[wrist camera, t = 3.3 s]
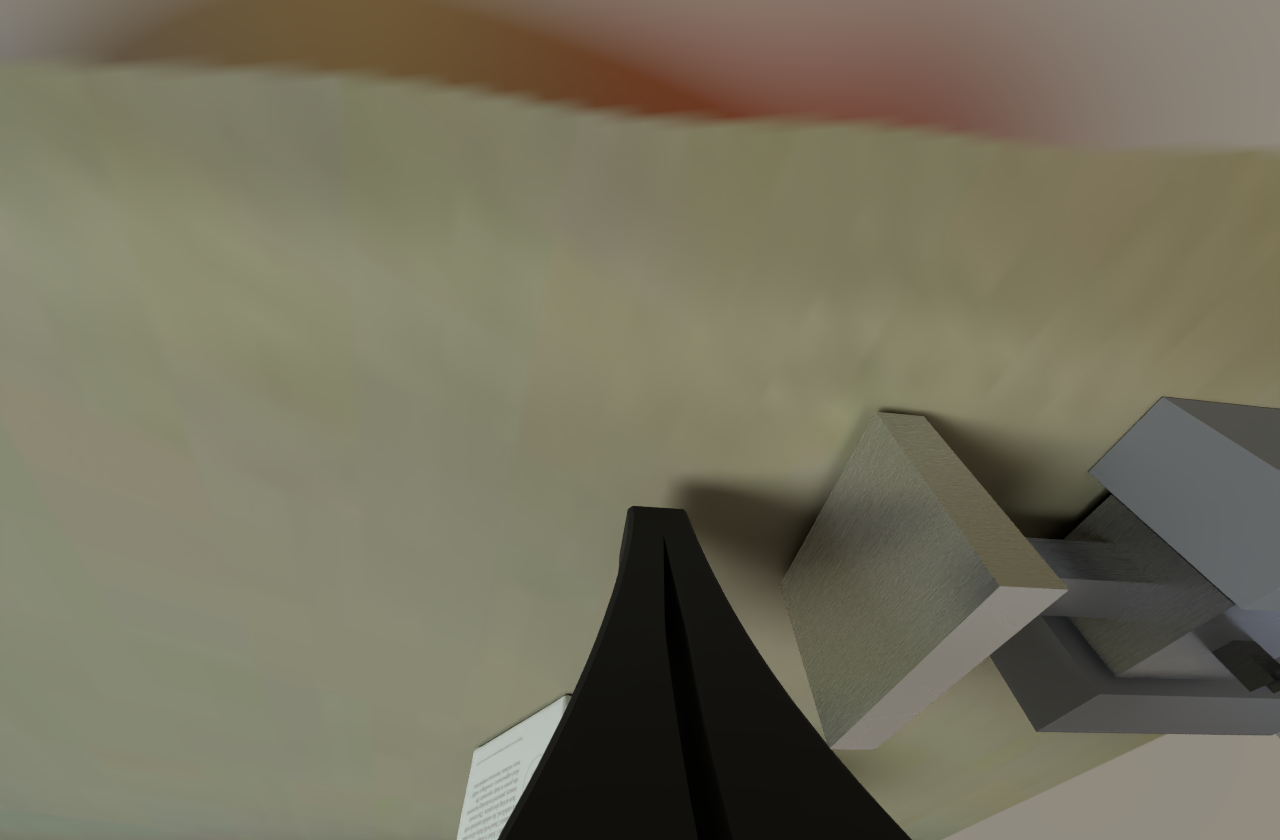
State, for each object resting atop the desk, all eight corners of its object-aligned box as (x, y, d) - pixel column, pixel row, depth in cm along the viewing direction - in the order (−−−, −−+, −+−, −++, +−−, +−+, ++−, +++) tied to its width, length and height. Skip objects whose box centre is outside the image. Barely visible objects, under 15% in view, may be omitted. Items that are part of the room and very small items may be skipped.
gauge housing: (1431, 425, 12) (1740, 567, 9) (1154, 613, 18) (1279, 744, 14) (1162, 396, 11) (1392, 542, 8) (957, 603, 17) (1042, 741, 13)
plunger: (1304, 428, 12) (1608, 595, 8) (1084, 600, 16) (1214, 754, 13) (889, 386, 10) (1031, 560, 7) (779, 585, 15) (829, 750, 12)
